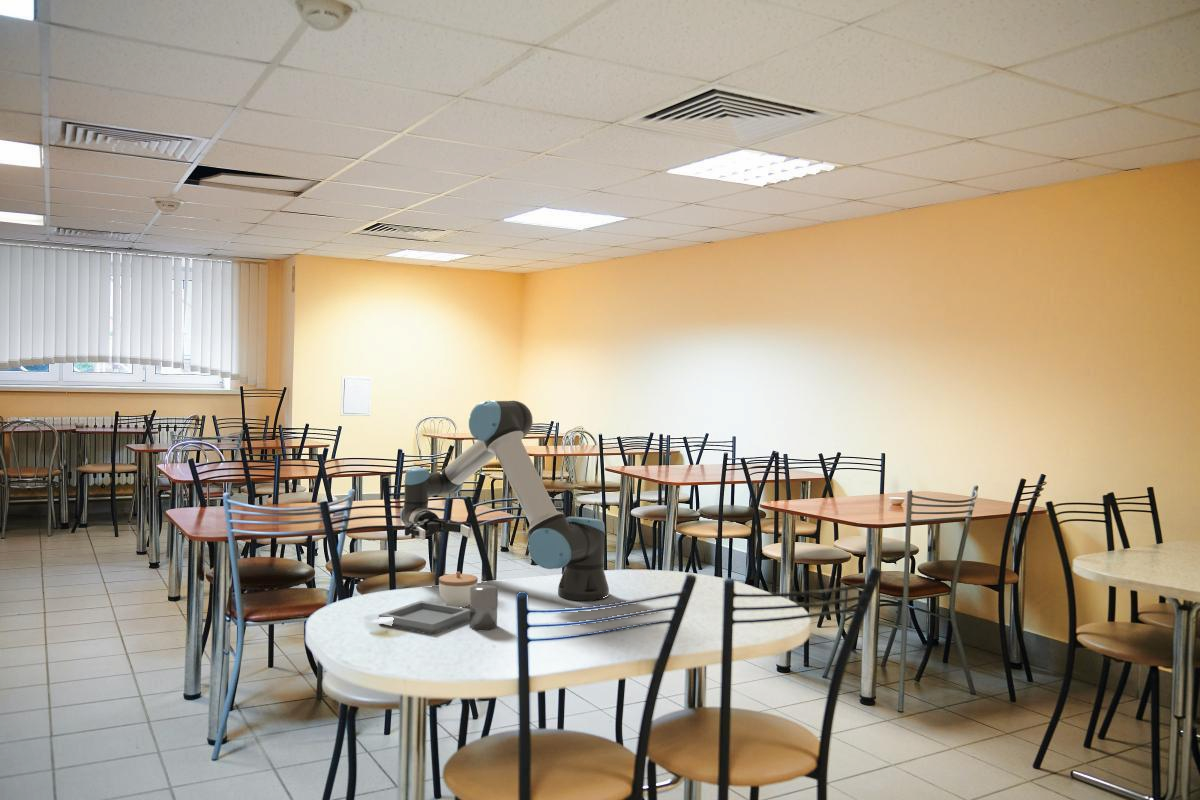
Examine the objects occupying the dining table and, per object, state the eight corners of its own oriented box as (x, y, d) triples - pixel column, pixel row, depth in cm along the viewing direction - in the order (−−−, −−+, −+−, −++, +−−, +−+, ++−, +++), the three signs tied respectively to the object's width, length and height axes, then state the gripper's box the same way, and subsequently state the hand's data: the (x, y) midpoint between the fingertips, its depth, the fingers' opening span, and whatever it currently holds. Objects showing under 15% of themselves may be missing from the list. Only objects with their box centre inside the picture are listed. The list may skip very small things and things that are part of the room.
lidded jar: (480, 601, 250) (481, 569, 250) (471, 611, 239) (472, 577, 239) (444, 599, 251) (444, 567, 251) (433, 609, 240) (434, 575, 240)
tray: (472, 618, 232) (472, 609, 232) (432, 634, 216) (432, 624, 216) (420, 609, 239) (420, 600, 239) (378, 624, 224) (378, 614, 224)
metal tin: (502, 625, 226) (503, 587, 226) (486, 632, 220) (488, 592, 220) (479, 621, 229) (480, 583, 229) (463, 627, 223) (464, 588, 223)
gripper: (462, 532, 279) (487, 544, 260) (384, 536, 267) (404, 549, 248) (463, 508, 278) (487, 519, 260) (385, 511, 266) (404, 523, 248)
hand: (447, 534), depth 254 cm, fingers open, 13 cm apart
